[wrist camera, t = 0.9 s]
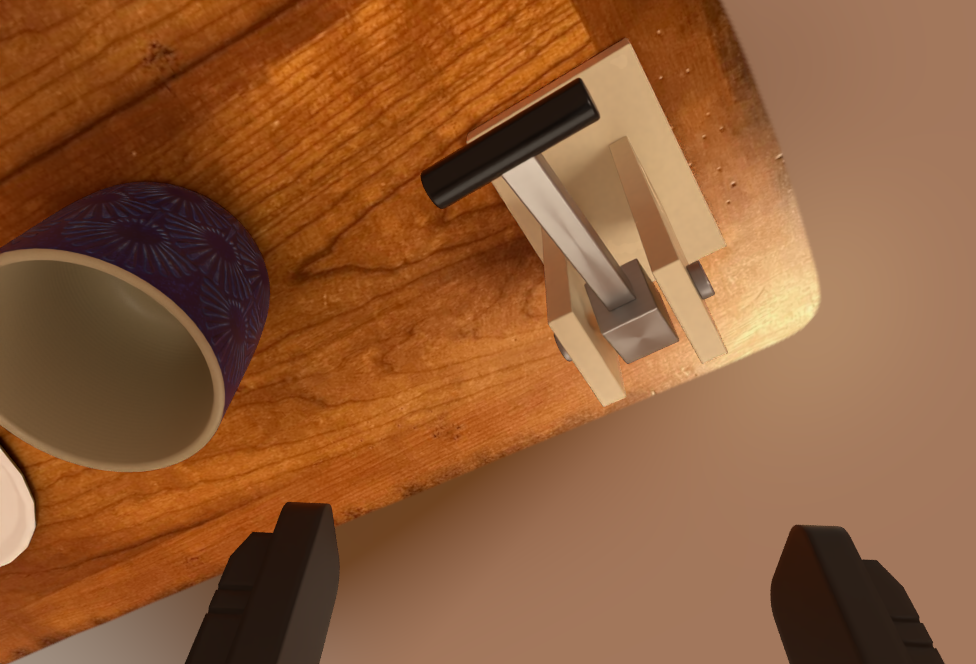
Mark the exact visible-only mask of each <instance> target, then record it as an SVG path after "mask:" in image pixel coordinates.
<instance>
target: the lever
mask: <svg viewBox="0 0 976 664" xmlns="http://www.w3.org/2000/svg"><path fill="white" fill-rule="evenodd" d="M599 119H600V113H599V111H598V109H597V106H596V104H595V102H594V100H593V98H592V96H591V94H590V92H589V91H588V89H587V87H586V85H585V83H584V82H583V80H582V79H581V78H576V79H574V80H573V81H571V82H569V83H568V84H566V85H565V86H563V87H561V88H560V89H558V90H556V91H555V92H553V93H551V94H550V95H548V96H546V97H545V98H543V99H541V100H540V101H538V102H536V103H535V104H533V105H531V106H530V107H528V108H526V109H525V110H523V111H521V112H520V113H518V114H516V115H515V116H513V117H511V118H510V119H508V120H506V121H505V122H503V123H501V124H500V125H498V126H496V127H495V128H493V129H491V130H490V131H488V132H486V133H485V134H483V135H481V136H480V137H478V138H476V139H475V140H473V141H471V142H470V143H468V144H466V145H465V146H463V147H462V148H460V149H458V150H457V151H455V152H453V153H452V154H450V155H448V156H447V157H445V158H443V159H442V160H440V161H438V162H437V163H435V164H433V165H432V166H430V167H428V168H427V169H425V170H423V171H422V173H421V181H422V184H423V187H424V189H425V191H426V193H427V195H428V196H429V198H430V199H431V201H432V202H433V203H434V204H435V205H436V206H437V207H438V208H440V209H445V208H447V207H448V206H450V205H452V204H454V203H455V202H457V201H459V200H461V199H462V198H464V197H466V196H468V195H469V194H471V193H473V192H475V191H476V190H478V189H480V188H481V187H483V186H485V185H487V184H488V183H490V182H492V181H494V180H495V179H497V178H499V177H501V176H502V178H503V179H504V180H505V181H506V183H507V184H508V185H509V186H510V188H511V189H512V190H513V191H514V193H515V194H516V195H517V197H518V198H519V199H520V200H521V202H522V203H523V204H524V205H525V207H526V208H527V209H528V210H529V212H530V213H531V214H532V215H533V217H534V218H535V219H536V220H537V222H538V223H539V224H540V225H541V227H542V228H543V229H544V230H545V232H546V233H547V234H548V235H549V237H550V238H551V239H552V240H553V242H554V243H555V244H556V245H557V247H558V248H559V249H560V251H561V252H562V253H563V254H564V256H565V257H566V258H567V259H568V261H569V262H570V263H571V264H572V266H573V267H574V268H575V269H576V271H577V272H578V273H579V274H580V276H581V277H582V278H583V279H584V281H585V282H586V283H585V284H584V287H585V289H586V292H587V295H588V298H589V301H590V304H591V306H592V309H593V312H594V315H595V318H596V321H597V323H598V326H599V329H600V332H601V334H602V335H603V336H604V338H605V339H606V340H607V341H608V342H609V343H610V345H611V346H612V347H613V348H614V349H615V350H616V352H617V353H618V354H619V355H620V356H621V357H622V359H623V360H624V361H625V362H626V363H627V364H629V363H631V362H634V361H636V360H638V359H640V358H643V357H645V356H647V355H649V354H651V353H654V352H656V351H658V350H660V349H663V348H665V347H667V346H669V345H672V344H674V343H676V342H678V341H679V337H678V335H677V333H676V330H675V328H674V326H673V323H672V321H671V319H670V316H669V314H668V312H667V309H666V307H665V305H664V302H663V300H662V298H661V295H660V293H659V292H658V290H657V289H656V287H655V285H654V284H653V282H652V281H651V279H650V278H649V276H648V275H647V273H646V272H645V270H644V268H643V267H642V265H641V264H640V262H639V261H638V259H633V260H631V261H629V262H627V263H625V264H623V265H621V266H619V264H618V263H617V261H616V260H615V259H614V257H613V256H612V254H611V253H610V251H609V250H608V248H607V247H606V246H605V244H604V243H603V241H602V240H601V238H600V237H599V235H598V234H597V233H596V231H595V230H594V228H593V227H592V225H591V224H590V223H589V221H588V220H587V218H586V217H585V215H584V214H583V212H582V211H581V210H580V208H579V207H578V205H577V204H576V202H575V201H574V200H573V198H572V197H571V195H570V194H569V192H568V191H567V189H566V188H565V187H564V185H563V184H562V182H561V181H560V179H559V178H558V176H557V175H556V174H555V172H554V171H553V169H552V168H551V166H550V165H549V164H548V162H547V161H546V159H545V158H544V156H543V155H542V152H544V151H546V150H548V149H549V148H551V147H553V146H555V145H556V144H558V143H560V142H561V141H563V140H565V139H567V138H568V137H570V136H572V135H574V134H575V133H577V132H579V131H581V130H582V129H584V128H586V127H588V126H589V125H591V124H593V123H595V122H596V121H598V120H599Z"/></svg>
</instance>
